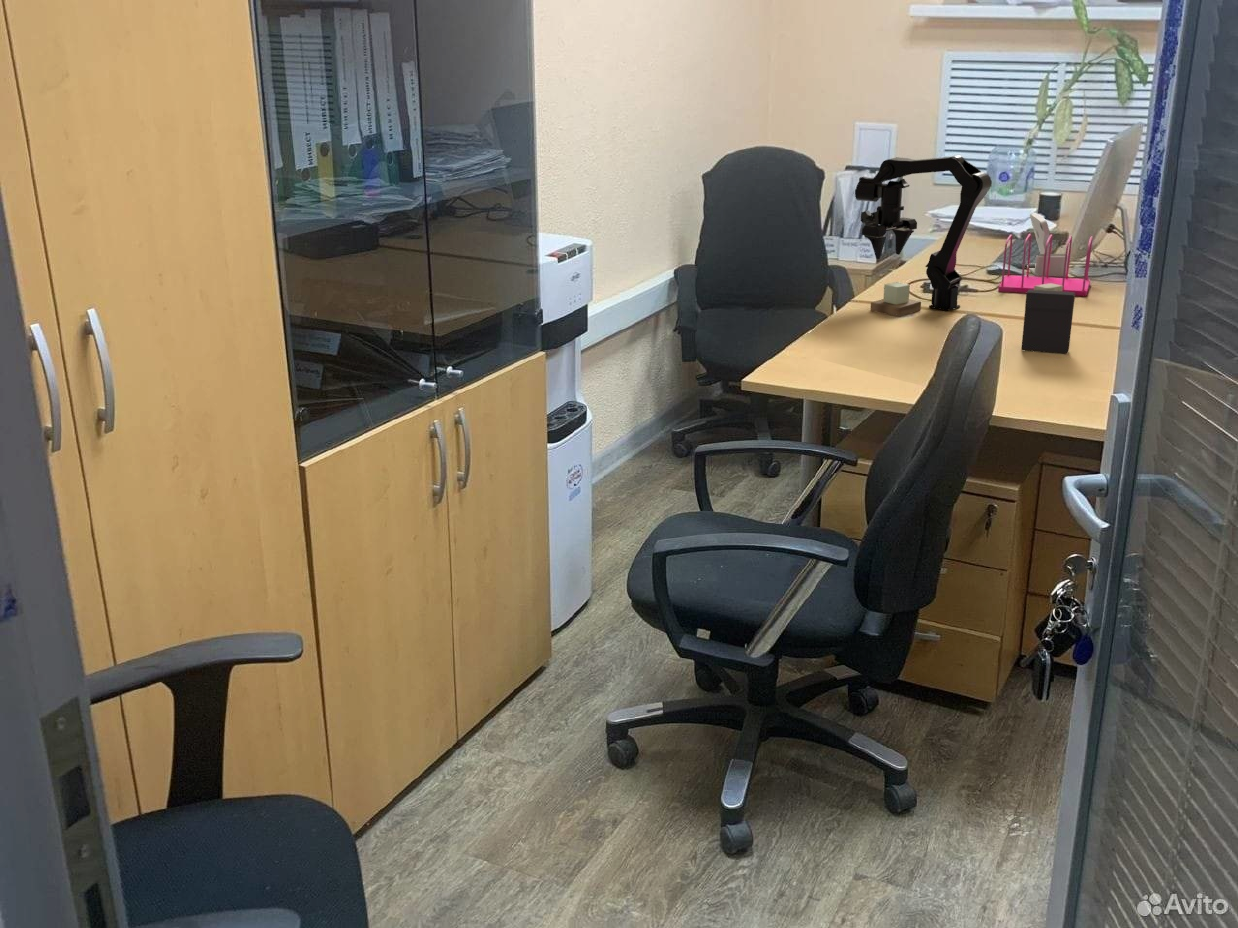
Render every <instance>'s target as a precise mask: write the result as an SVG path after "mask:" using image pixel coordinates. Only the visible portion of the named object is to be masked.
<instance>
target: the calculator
mask: <svg viewBox="0 0 1238 928" xmlns="http://www.w3.org/2000/svg"><path fill="white" fill-rule="evenodd" d="M1025 294H1026V295H1025V303H1024V304H1025V305H1024V317H1023V318H1024V319H1023V329H1022V336H1021V337H1022V339H1021V351H1022V350H1025V351H1024V352H1033V351H1034V352H1036V353H1047V354H1059V355H1067V354H1068V353H1069V351H1070V341H1071V333H1072V325H1073V323H1072V322H1073V318H1074V316H1073V315H1074V307H1075V298H1076V296H1075V293H1074V292H1063V291H1046V290H1028V292H1027V293H1025Z"/></svg>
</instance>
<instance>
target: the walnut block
mask: <svg viewBox="0 0 1238 928" xmlns="http://www.w3.org/2000/svg"><path fill="white" fill-rule="evenodd" d="M883 299H884V298H883ZM883 299H879V300H876V301H871V302H870V312H875V313H879V314H885V315H890V316H894V317H902V316H907V315H909V314H912V313H916V312H919V311H921V307H922V301H920V300H916V299H915V300H914V299H910V298H909V302H907V303H902V304H897V305H895V304H891V303H887V302H883Z"/></svg>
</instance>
